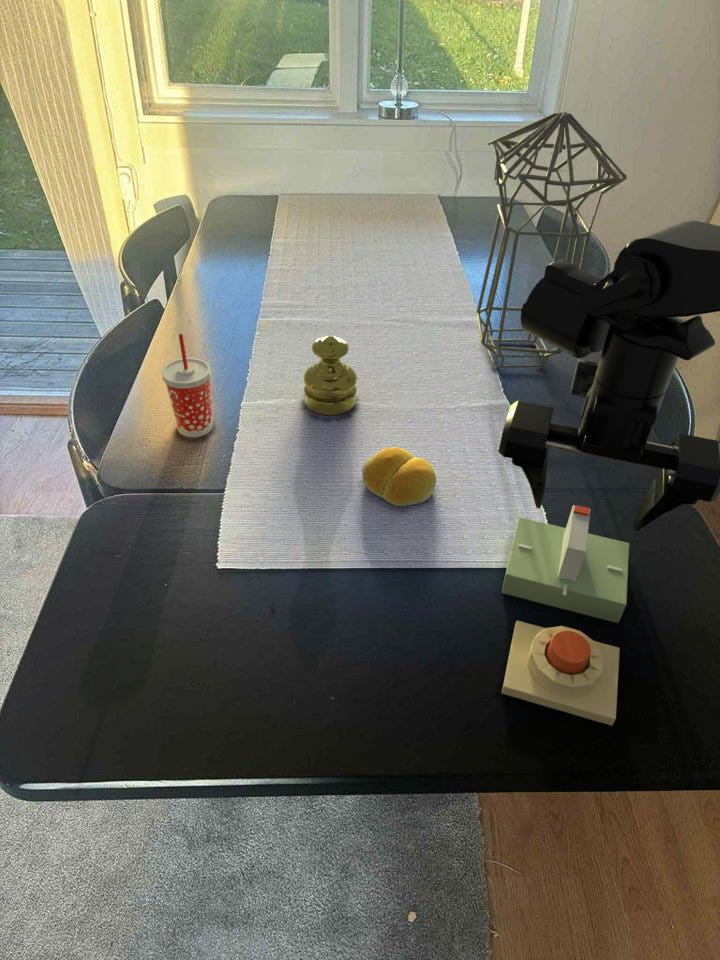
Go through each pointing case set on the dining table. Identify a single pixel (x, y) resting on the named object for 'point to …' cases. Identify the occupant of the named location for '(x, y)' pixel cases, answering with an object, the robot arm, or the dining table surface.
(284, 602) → the dining table surface
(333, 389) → the gold tiered piece
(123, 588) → the dining table surface
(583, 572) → the panel
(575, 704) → the button box
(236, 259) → the dining table surface
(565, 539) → the white switch lever
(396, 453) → the bread roll
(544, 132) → the geometric lantern
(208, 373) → the beverage cup
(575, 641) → the button
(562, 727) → the dining table surface
